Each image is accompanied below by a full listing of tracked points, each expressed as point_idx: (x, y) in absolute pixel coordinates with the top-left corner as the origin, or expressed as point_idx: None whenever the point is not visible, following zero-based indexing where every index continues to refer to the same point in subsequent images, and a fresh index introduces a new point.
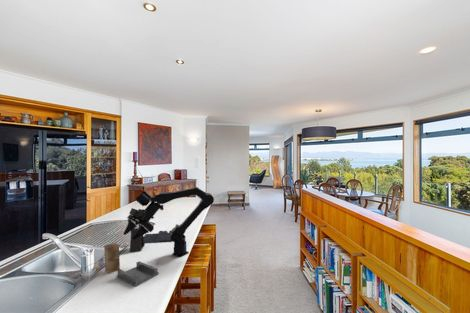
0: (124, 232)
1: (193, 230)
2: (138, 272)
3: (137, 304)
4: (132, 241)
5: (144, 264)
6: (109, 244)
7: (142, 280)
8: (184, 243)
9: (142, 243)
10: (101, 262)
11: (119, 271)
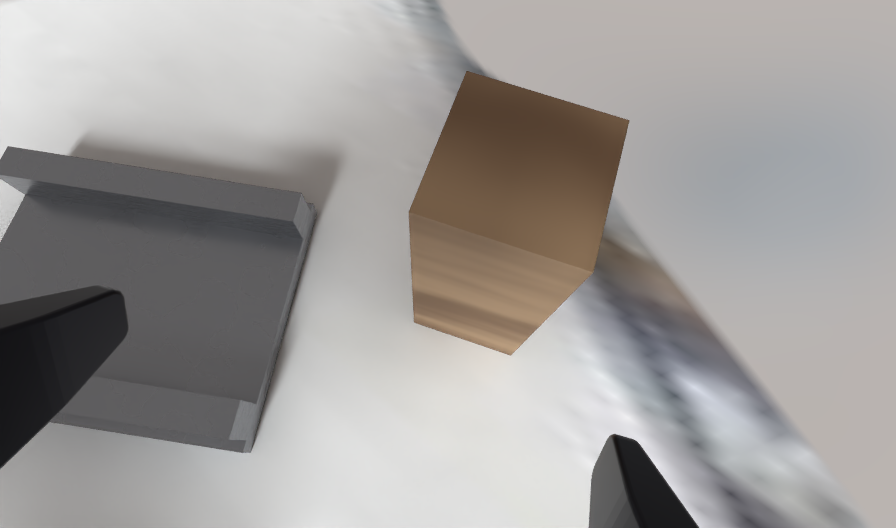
0: (620, 462)
1: None
2: (144, 316)
3: None
4: None
5: (100, 398)
6: (601, 177)
7: (10, 225)
8: None
9: None
10: (733, 360)
11: (271, 191)
